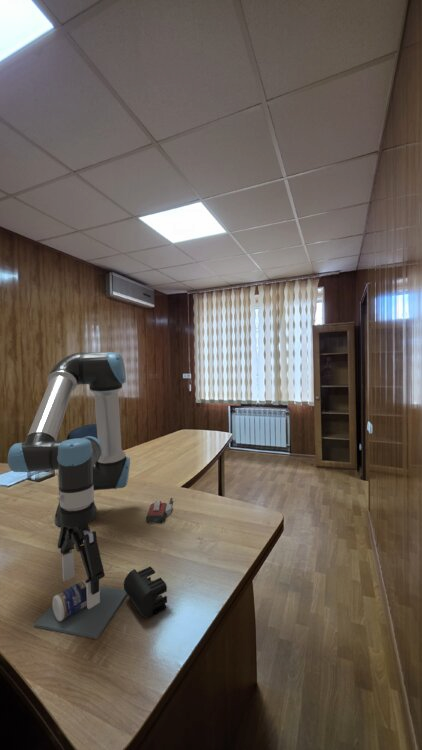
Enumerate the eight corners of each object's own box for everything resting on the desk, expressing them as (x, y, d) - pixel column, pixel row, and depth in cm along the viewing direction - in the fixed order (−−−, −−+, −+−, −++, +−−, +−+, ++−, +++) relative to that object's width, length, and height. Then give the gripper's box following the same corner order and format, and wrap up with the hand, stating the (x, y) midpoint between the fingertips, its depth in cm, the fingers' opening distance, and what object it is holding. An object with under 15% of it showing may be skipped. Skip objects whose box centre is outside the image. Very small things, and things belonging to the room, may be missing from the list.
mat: (34, 626, 70) (34, 624, 70) (74, 584, 84) (74, 582, 84) (97, 639, 67) (97, 636, 67) (128, 592, 80) (128, 590, 80)
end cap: (123, 599, 78) (122, 573, 78) (149, 587, 82) (148, 562, 82) (140, 625, 70) (139, 596, 70) (168, 610, 74) (167, 582, 74)
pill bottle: (54, 591, 71) (94, 570, 79) (50, 604, 74) (89, 583, 81) (62, 614, 68) (103, 590, 76) (58, 627, 70) (98, 602, 78)
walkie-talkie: (168, 524, 115) (174, 501, 135) (168, 513, 115) (173, 491, 135) (145, 525, 115) (153, 502, 135) (144, 514, 115) (153, 492, 135)
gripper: (41, 495, 81) (45, 575, 81) (85, 528, 64) (89, 629, 64) (71, 486, 86) (74, 562, 87) (118, 514, 69) (121, 608, 70)
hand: (80, 590), depth 75 cm, fingers open, 13 cm apart
